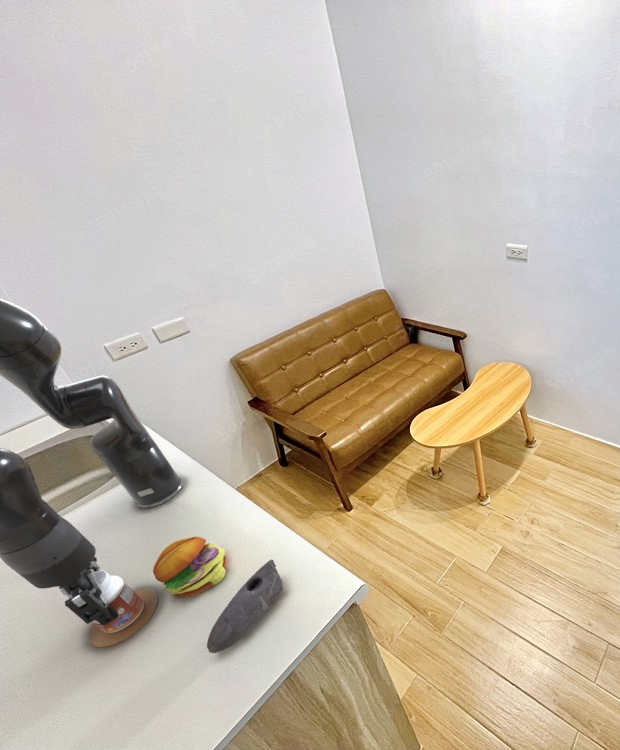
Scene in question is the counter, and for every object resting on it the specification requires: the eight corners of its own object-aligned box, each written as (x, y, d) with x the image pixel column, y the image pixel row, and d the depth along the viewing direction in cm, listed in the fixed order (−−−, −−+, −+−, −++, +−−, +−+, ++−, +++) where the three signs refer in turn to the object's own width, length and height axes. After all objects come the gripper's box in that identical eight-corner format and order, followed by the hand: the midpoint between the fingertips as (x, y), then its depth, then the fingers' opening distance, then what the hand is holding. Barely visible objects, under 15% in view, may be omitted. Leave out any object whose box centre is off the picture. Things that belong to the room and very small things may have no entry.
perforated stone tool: (226, 666, 65) (208, 647, 61) (206, 652, 67) (187, 632, 63) (297, 583, 76) (286, 563, 73) (278, 573, 78) (266, 553, 74)
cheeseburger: (203, 606, 73) (167, 577, 68) (165, 603, 76) (128, 574, 71) (243, 556, 81) (212, 527, 76) (207, 555, 84) (176, 527, 80)
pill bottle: (97, 640, 68) (56, 609, 62) (109, 607, 73) (72, 575, 67) (140, 624, 70) (104, 591, 64) (149, 593, 75) (117, 560, 69)
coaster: (86, 619, 72) (85, 618, 72) (152, 579, 78) (151, 578, 78) (93, 661, 66) (92, 660, 66) (164, 614, 72) (163, 613, 72)
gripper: (85, 561, 58) (142, 614, 67) (75, 509, 67) (127, 562, 76) (13, 599, 54) (84, 651, 63) (12, 538, 62) (75, 591, 71)
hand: (107, 602), depth 69 cm, fingers open, 8 cm apart
